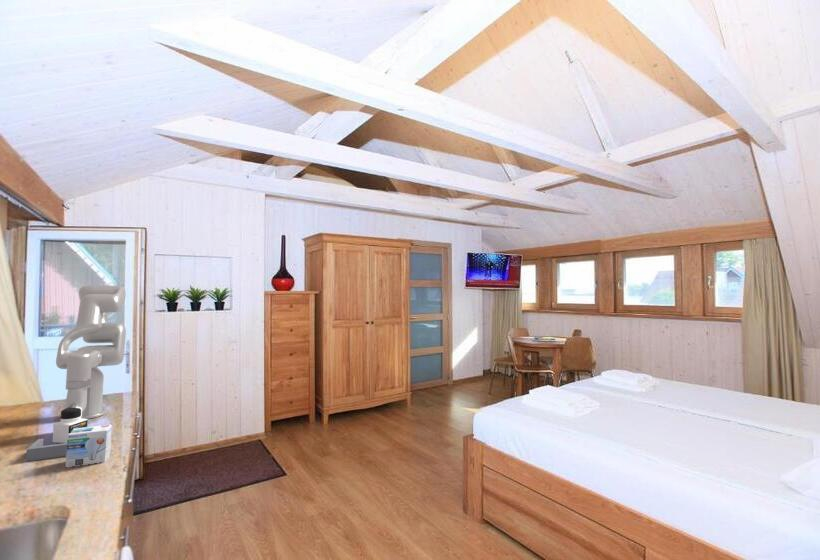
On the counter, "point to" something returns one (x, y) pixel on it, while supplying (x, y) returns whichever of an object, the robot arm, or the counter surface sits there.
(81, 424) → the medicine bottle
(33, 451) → the bracket
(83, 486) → the counter surface
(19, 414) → the counter surface
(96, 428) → the light bulb box
